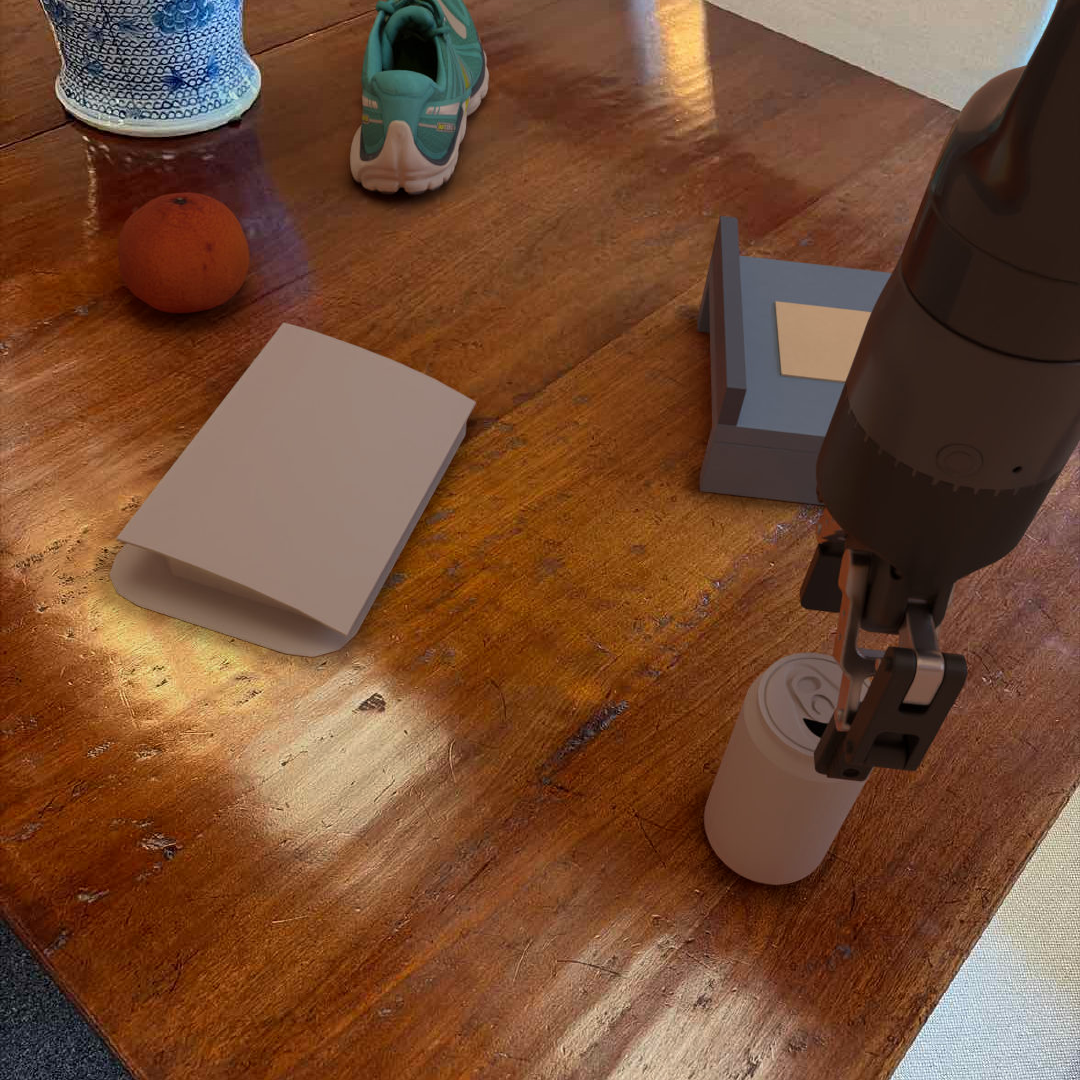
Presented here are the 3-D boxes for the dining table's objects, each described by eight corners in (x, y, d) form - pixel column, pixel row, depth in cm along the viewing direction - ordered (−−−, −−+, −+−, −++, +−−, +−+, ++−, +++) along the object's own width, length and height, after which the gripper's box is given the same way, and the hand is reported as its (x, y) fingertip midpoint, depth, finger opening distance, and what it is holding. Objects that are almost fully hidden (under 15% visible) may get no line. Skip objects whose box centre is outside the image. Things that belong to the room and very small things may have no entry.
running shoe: (489, 46, 115) (496, -79, 106) (483, 215, 96) (490, 81, 87) (373, 37, 114) (370, -89, 106) (343, 206, 95) (337, 70, 87)
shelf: (882, 340, 89) (921, 238, 83) (913, 516, 77) (961, 413, 71) (697, 319, 89) (720, 215, 82) (699, 491, 77) (726, 386, 70)
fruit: (229, 248, 90) (216, 153, 84) (269, 317, 85) (258, 220, 79) (111, 274, 87) (89, 176, 81) (145, 347, 82) (124, 249, 76)
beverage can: (740, 910, 58) (800, 787, 49) (678, 801, 62) (723, 668, 53) (848, 865, 60) (924, 739, 52) (781, 762, 64) (842, 627, 55)
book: (90, 590, 68) (75, 545, 65) (273, 351, 83) (268, 305, 80) (338, 671, 66) (334, 628, 63) (480, 409, 81) (483, 365, 78)
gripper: (1130, 580, 34) (939, 843, 47) (1033, 283, 44) (895, 566, 56) (872, 550, 34) (748, 821, 46) (831, 258, 44) (737, 547, 56)
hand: (829, 682), depth 51 cm, fingers open, 8 cm apart
